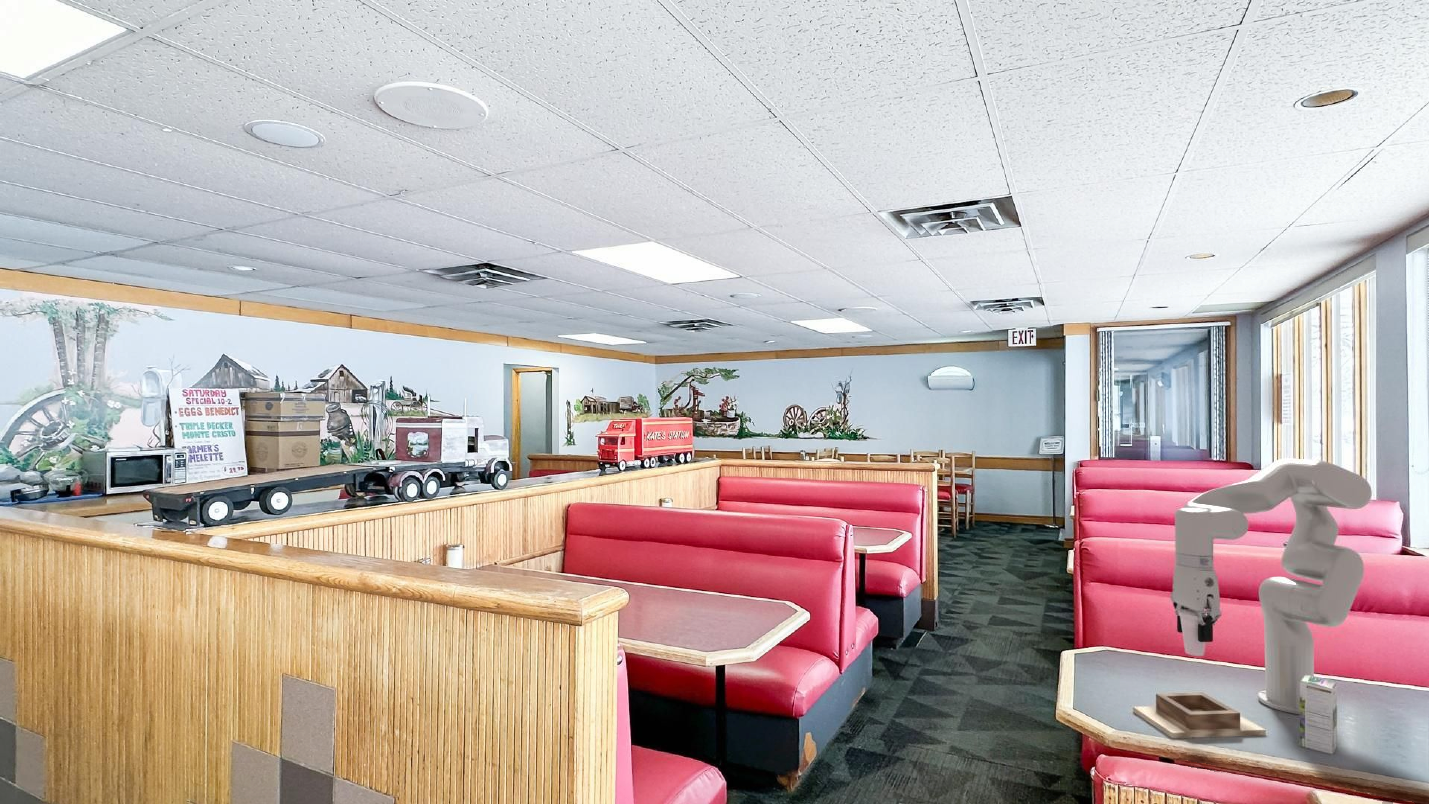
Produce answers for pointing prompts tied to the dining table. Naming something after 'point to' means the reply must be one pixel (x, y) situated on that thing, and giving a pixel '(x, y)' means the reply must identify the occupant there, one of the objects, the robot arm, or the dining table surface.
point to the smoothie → (1191, 632)
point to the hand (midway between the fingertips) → (1194, 636)
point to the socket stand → (1196, 717)
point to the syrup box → (1318, 714)
